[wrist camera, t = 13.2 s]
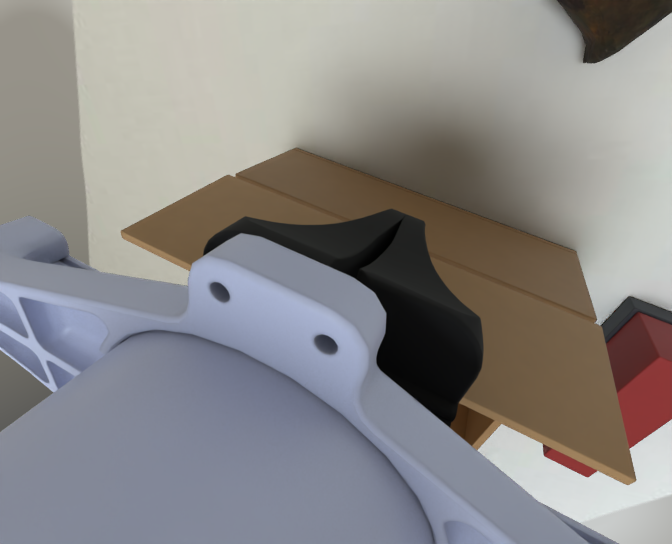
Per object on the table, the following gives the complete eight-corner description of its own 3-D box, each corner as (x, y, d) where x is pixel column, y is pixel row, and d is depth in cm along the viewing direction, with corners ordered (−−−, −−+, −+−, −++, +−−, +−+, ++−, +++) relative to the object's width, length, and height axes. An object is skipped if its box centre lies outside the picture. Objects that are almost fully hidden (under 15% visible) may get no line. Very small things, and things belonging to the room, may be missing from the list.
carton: (275, 292, 31) (228, 339, 26) (295, 147, 23) (235, 173, 18) (474, 387, 27) (465, 463, 22) (576, 251, 19) (597, 319, 14)
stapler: (575, 418, 25) (586, 483, 21) (532, 398, 25) (535, 458, 22) (689, 318, 19) (731, 384, 15) (629, 295, 19) (656, 353, 16)
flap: (121, 238, 13) (119, 230, 13) (228, 180, 18) (227, 174, 18) (628, 486, 9) (637, 481, 9) (596, 331, 14) (602, 326, 14)
